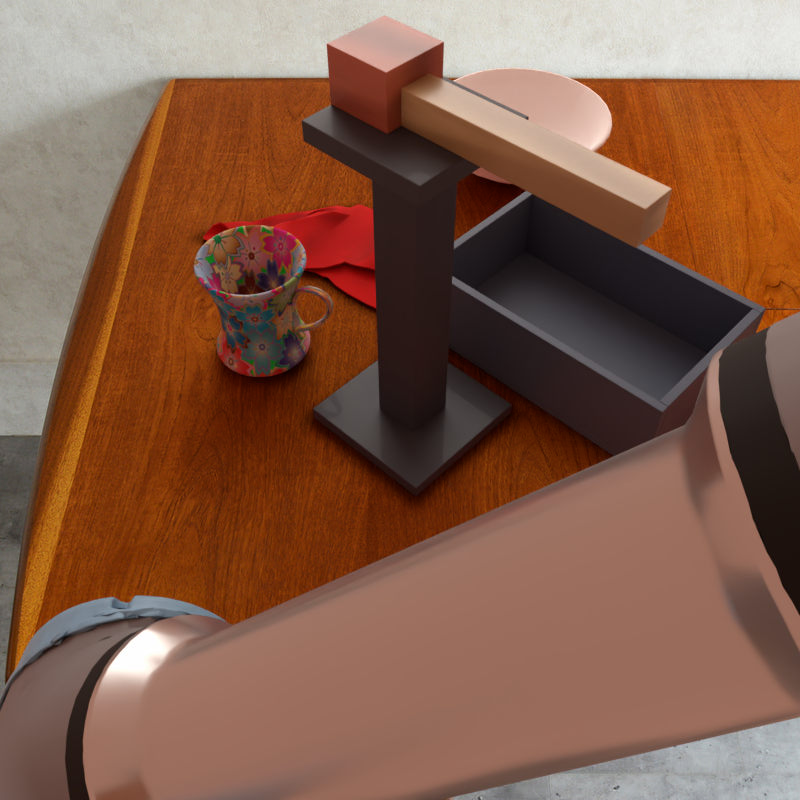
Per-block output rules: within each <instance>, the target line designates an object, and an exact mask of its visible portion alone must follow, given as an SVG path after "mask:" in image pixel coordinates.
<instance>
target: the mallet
mask: <svg viewBox="0 0 800 800" xmlns="http://www.w3.org/2000/svg"><path fill="white" fill-rule="evenodd" d="M444 52H445V42H444V41H443V40H441V39H438V38H436V37H434V36H433V35H429V34H427V33H425V32H422V31H420V30H418V29H417V28H414V27H412V26H409V25H407V24H406V23H403V22H401V21H399V20H396V19H394V18H392V17H390V16H387V15H382V16H380V17H378V18H376V19H374V20H372V21H370V22H368V23H366V24H363V25H362V26H361V27H358V28H356V29H353V30H351V31H350V32H347V33H346V34H343V35H342V36H339V37H338V38H335V39H334V40H333V39H332V40H331V41H329V42H327V43H326V57H327V67H328V68H327V72H328V84H329V99H330V105H331V104H332V105H333V106H335V107H337V108H339V109H341V110H343V111H345V112H347V113H348V114H350V115H352V116H354V117H356V118H358V119H360V120H362V121H363V122H365V123H367V124H369V125H371V126H373V127H375V128H377V129H378V130H380V131H382V132H384V133H386V134H388V133H390V132H392V131H393V130H395V129H397V128H399V127H400V126H403V127H405V128H407V129H409V130H410V131H412V132H414V133H416V134H418V135H420V136H422V137H424V138H426V139H428V140H430V141H432V142H433V143H435V144H437V145H439V146H441V147H443V148H445V149H447V150H449V151H451V152H453V153H455V154H456V155H458V156H460V157H462V158H464V159H466V160H468V161H470V162H472V163H474V164H476V165H478V166H479V167H481V168H483V169H485V170H487V171H489V172H491V173H493V174H495V175H497V176H499V177H501V178H503V179H504V180H506V181H508V182H510V183H512V184H511V185H513V186H516V187H518V188H520V189H522V190H523V191H527V192H529V193H531V194H533V195H535V196H537V197H539V198H541V199H543V200H545V201H547V202H549V203H550V204H552V205H554V206H556V207H558V208H560V209H562V210H564V211H566V212H568V213H570V214H572V215H573V216H575V217H577V218H579V219H581V220H583V221H585V222H587V223H589V224H591V225H593V226H595V227H596V228H598V229H600V230H602V231H604V232H606V233H608V234H610V235H612V236H614V237H616V238H618V239H619V240H621V241H623V242H625V243H627V244H629V245H631V246H633V247H635V248H637V247H638V246H640V245H641V244H643V243H644V242H646V241H647V240H648V239H649V238H651V237H652V236H653V235H654V234H656V232H658V231H659V230H660V229H662V227H663V224H664V222H665V221H664V220H665V218H666V214H667V209H668V207H669V203H670V200H671V199H670V198H671V195H672V193H673V192H672V191H673V188H672V187H670V186H668V185H665V184H663V183H661V182H659V181H658V180H655V179H653V178H651V177H649V176H647V175H644V174H642V173H640V172H639V171H636V170H634V169H631V168H630V167H628V166H625V165H623V164H622V163H619V162H617V161H615V160H613V159H610V158H609V157H606V156H605V155H602V154H600V153H599V152H597V151H596V152H594V151H592V150H590V149H588V148H586V147H583V146H581V145H579V144H577V143H575V142H573V141H571V140H569V139H567V138H565V137H562V136H560V135H558V134H556V133H554V132H552V131H550V130H548V129H546V128H543V127H541V126H539V125H537V124H535V123H533V122H531V121H529V120H527V119H525V118H522V117H520V116H518V115H516V114H514V113H512V112H510V111H508V110H506V109H503V108H501V107H499V106H497V105H495V104H493V103H491V102H489V101H487V100H485V99H482V98H480V97H478V96H476V95H474V94H472V93H470V92H468V91H466V90H463V89H461V88H459V87H457V86H455V85H453V84H451V83H449V82H447V81H445V80H443V76H444V56H445V53H444Z"/></svg>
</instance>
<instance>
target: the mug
mask: <svg viewBox="0 0 800 800" xmlns="http://www.w3.org/2000/svg"><path fill="white" fill-rule="evenodd" d="M305 266H306V252H305V249H304V247H303V245H302V244H301V242H300V241H299V240H298V239H297V238H296V237H295V236H293V235H292V234H290V233H288V232H286V231H284V230H282V229H279V228H275V227H271V226H264V225H248V226H241V227H236V228H232V229H229V230H226V231H224V232H221V233H219V234H217V235H216V236H214V237H212V238H211V239H209V240H208V241H206V242H204V243H203V244H202V245H201V247H200V248H199V250H198V251H197V253H196V255H195V257H194V261H193V272H194V276H195V278H196V280H197V282H198V283H199V284H200V285H201V287H202V288H203V289H204V290H205V291H206V292H207V293H208V294H209V296H210V297H211V298H212V300H213V302H214V304H215V306H216V307H217V308H216V309H217V310H218V313H219V317H220V332H219V334H218V336H217V340H216V352H217V356H218V357H219V359H220V360H221V362H222V363H223V364H224V366H226V367H227V368H228V369H230V370H232V371H233V372H235V373H236V374H240V375H243V376H245V377H252V378H265V377H266V378H267V377H272V376H277V375H280V374H283V373H285V372H288V371H290V370H291V369H293V368H294V367H295V366H297V365H298V364H299V363H300V362H301V361H302V360H303V359H304V358H305V356H306V355H307V353H308V352H309V349H310V346H311V333H310V331H312V330H315V329H318V328H319V327H321V326H323V325H324V324H325V323H326V322H327V321H328V320H329V319H330V317H331V316H332V314H333V311H334V302H333V299H332V297H331V296H330V295H329V294H328V293H327V292H326V291H325V290H324V289H321V288H320V287H317V286H312V285H303V286H301V287H299V284H300V280H301V278H302V276H303V273H304V271H305V270H304V269H305ZM298 287H299V288H298ZM302 294H311V295H314V296H316V297H318V298H320V299H321V300H322V301H323V302H324V304H325V305H326V309H327V310H326V313H325V315H324V316H322V317H321V318H320V319H319V320H316V321H314V322H310V323H306V322H305V321H304V320H302V318H301V317H300V314H299V311H298V307H297V306H298V305H297V301H298V299H299V296H300V295H302Z"/></svg>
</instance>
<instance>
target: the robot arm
mask: <svg viewBox="0 0 800 800" xmlns="http://www.w3.org/2000/svg"><path fill="white" fill-rule="evenodd" d="M799 718H800V311H798V312H796V313H794V314H791V315H789V316H787V317H784V318H782V319H781V320H778V321H776V322H774V323H772V324H771V325H769V326H768V327H765V328H763V329H762V330H759V331H757V332H756V333H755V334H753V335H751V336H749V337H747V338H745V339H743V340H740V341H738V342H736V343H734V344H732V345H730V346H727V347H725V348H723V349H722V350H720V351H718V352H717V353H716V354H715V355H713V357H712V359H711V361H710V363H709V365H708V368H707V371H706V374H705V377H704V380H703V383H702V386H701V389H700V392H699V395H698V398H697V401H696V404H695V407H694V410H693V413H692V415H691V417H690V418H689V419H688V421H687V422H686V424H685V425H684V426H681V427H679V428H677V429H675V430H672V431H670V432H668V433H665V434H663V435H661V436H659V437H656V438H654V439H652V440H650V441H647V442H645V443H643V444H641V445H638V446H636V447H634V448H632V449H629V450H627V451H625V452H623V453H620V454H618V455H616V456H611V457H608V458H607V459H605V460H602V461H600V462H598V463H595V464H593V465H591V466H589V467H586V468H584V469H582V470H580V471H578V472H575V473H573V474H570V475H569V476H566V477H564V478H562V479H560V480H557V481H555V482H553V483H551V484H549V485H546V486H544V487H542V488H539V489H537V490H535V491H532V492H530V493H528V494H525V495H523V496H521V497H519V498H517V499H515V500H512V501H510V502H508V503H505V504H503V505H501V506H499V507H496V508H494V509H491V510H489V511H487V512H485V513H482V514H481V515H477V516H476V517H474V518H471V519H470V520H467V521H464V522H462V523H460V524H458V525H455V526H454V527H451V528H449V529H447V530H445V531H442V532H440V533H438V534H435V535H433V536H431V537H429V538H426V539H424V540H422V541H420V542H418V543H415V544H413V545H411V546H408V547H406V548H404V549H402V550H400V551H397V552H395V553H393V554H389V555H387V556H386V557H384V558H381V559H379V560H377V561H374V562H372V563H370V564H368V565H365V566H363V567H361V568H359V569H357V570H354V571H351V572H350V573H347V574H345V575H342V576H341V577H339V578H336V579H334V580H332V581H329V582H327V583H325V584H323V585H321V586H318V587H316V588H314V589H312V590H309V591H306V592H305V593H302V594H300V595H298V596H295V597H293V598H291V599H289V600H287V601H284V602H282V603H280V604H278V605H275V606H272V607H271V608H269V609H266V610H263V611H262V612H259V613H257V614H255V615H253V616H250V617H248V618H246V619H244V620H241V621H239V622H237V623H234V624H232V623H230V622H228V621H226V619H224V618H222V617H221V616H219V615H217V614H215V613H214V612H212V611H209V610H208V609H205V608H203V607H201V606H198V605H197V604H193V603H189V602H186V601H183V600H179V599H175V598H170V597H163V596H156V595H134V596H133V597H132V598H131V601H129V602H126V601H121V600H120V599H118V598H117V597H114V596H109V597H102V598H98V599H93V600H89V601H86V602H82V603H80V604H77V605H75V606H72V607H69V608H67V609H66V610H63V611H62V612H60V613H58V614H57V615H55V616H53V617H52V618H51V619H49V620H47V622H46V623H45V624H43V625H42V626H40V628H39V629H38V630H37V631H36V632H35V634H34V635H33V636H32V637H31V639H30V640H29V642H28V643H27V645H26V647H25V648H24V650H23V652H22V655H21V657H20V659H19V661H18V663H17V665H16V668H15V669H14V670H13V672H12V673H11V674H10V676H9V678H8V680H7V682H6V684H5V686H4V688H3V690H2V693H1V696H0V800H446V799H452V798H456V797H460V796H465V795H469V794H474V793H477V792H481V791H485V790H486V791H487V790H490V789H494V788H499V787H505V786H508V785H513V784H516V783H517V784H518V783H521V782H525V781H530V780H533V779H538V778H542V777H547V776H551V775H555V774H561V773H565V772H569V771H572V770H573V771H574V770H577V769H581V768H586V767H590V766H595V765H599V764H605V763H608V762H612V761H616V760H622V759H625V758H629V757H634V756H638V755H642V754H647V753H650V752H655V751H659V750H663V749H669V748H673V747H677V746H681V745H685V744H690V743H694V742H699V741H703V740H707V739H711V738H717V737H721V736H725V735H729V734H734V733H739V732H741V731H746V730H751V729H755V728H760V727H764V726H769V725H772V724H777V723H781V722H785V721H789V720H795V719H799Z"/></svg>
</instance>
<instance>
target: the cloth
mask: <svg viewBox="0 0 800 800" xmlns="http://www.w3.org/2000/svg"><path fill="white" fill-rule="evenodd" d="M248 225H264V226H271V227H275V228H279V229H282V230H284V231H286V232H288V233H290V234H292V235H293V236H295V237H296V238H297V239H298V240H299V241H300V242H301V244H302V245H303V247H304V249H305V252H306V266H305V269H304V271H307V272H311V273H314V274H317V275H319V276H320V277H321V278H327V279H329V281H330V282H331V283H332V284H333V285H334V286H335V287H336V288H338V289H339V290H341V291H342V292H344V293H345V294H346V295H348V296H350V297H352V298H353V299H355V300H357V301H359V302H361V303H363V304H365V305H366V306H369V307H371V308H373V309H375V310H376V286H375V255H374V225H373V208H371V207H368V206H365V205H364V204H360V203H357V204H355V205H353V206H350V207H348V206H343V205H338V204H337V205H332V206H327V207H321V208H317V209H310V210H305V211H303V210H302V211H294V212H288V213H281V214H275V215H270V216H268V217H264V218H260V219H257V220H253V221H243V220H237V221H229V222H220V221H218V222H217V223H216V222H215V223H214V224H212V225H211V226H210V228H208V230H207V231H206V232H205V234H204V235H203V236H202V237H203V238H202V239H203V240H204V241H206V242H207V241H208V240H209V239H211V238H212V237H214V236H216V235H217V234H219V233H221V232H224V231H226V230H229V229H232V228H236V227H241V226H248Z"/></svg>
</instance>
